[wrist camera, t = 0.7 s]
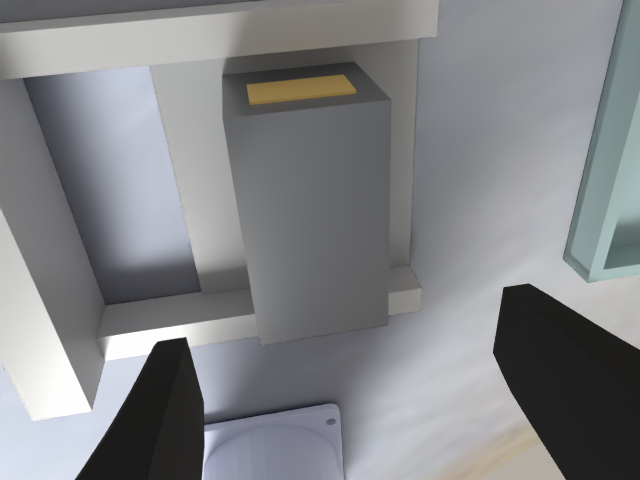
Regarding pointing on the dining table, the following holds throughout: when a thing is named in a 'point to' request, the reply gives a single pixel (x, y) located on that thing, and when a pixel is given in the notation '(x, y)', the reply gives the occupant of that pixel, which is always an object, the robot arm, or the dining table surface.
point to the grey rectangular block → (311, 196)
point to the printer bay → (189, 169)
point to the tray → (612, 168)
